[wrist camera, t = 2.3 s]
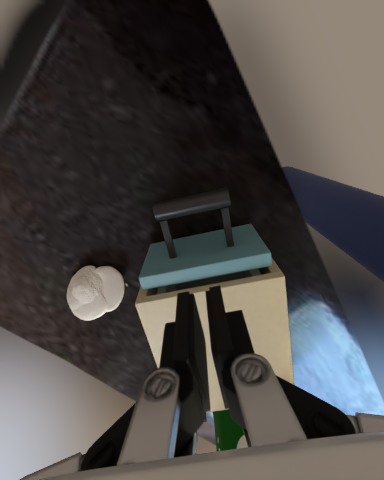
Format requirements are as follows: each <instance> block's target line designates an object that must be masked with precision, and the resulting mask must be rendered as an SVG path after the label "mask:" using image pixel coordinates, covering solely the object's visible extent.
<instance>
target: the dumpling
mask: <svg viewBox="0 0 384 480" xmlns="http://www.w3.org/2000/svg"><path fill="white" fill-rule="evenodd" d="M126 286H127V287H128V285H127V283H126ZM123 294H124V280H123V277H122V275H121V273H119V271H117V270H116V269H115V268H113V267H110V266H101V267H98V268H96V267H95V266H86V267H83V268H81V269H80V270H79V271H77V273H76V274H75V275H74V276H73V277H72V278H71V281H70V283H69V286H68V290H67V301H68V304H69V307H70V308H71V310H72V312H73V314H74V315H75V316H77V317H78V318H80V319H82V320H85V321H90V320H94V319H96V318H98V317H100V316H102V315H103V314H104V313H105V312H110V311H113V310H114V309H116V308H117V307H118V306H119V304H120V302H121V300H122V298H123Z"/></svg>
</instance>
